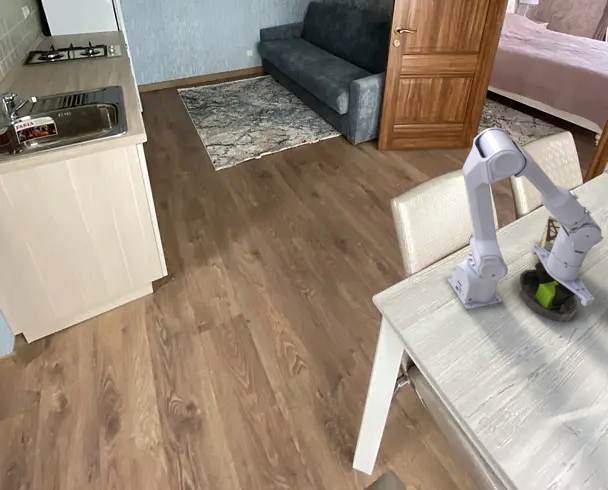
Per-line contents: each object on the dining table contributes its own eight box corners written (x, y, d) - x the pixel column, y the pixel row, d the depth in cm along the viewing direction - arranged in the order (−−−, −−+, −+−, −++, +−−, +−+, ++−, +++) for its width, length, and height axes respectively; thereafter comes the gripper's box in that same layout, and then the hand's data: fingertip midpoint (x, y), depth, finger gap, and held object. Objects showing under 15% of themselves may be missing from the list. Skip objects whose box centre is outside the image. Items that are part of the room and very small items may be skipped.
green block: (545, 309, 81) (551, 296, 80) (534, 297, 84) (539, 284, 83) (561, 306, 82) (567, 293, 81) (550, 293, 85) (555, 281, 83)
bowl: (571, 333, 77) (575, 324, 76) (512, 302, 84) (515, 293, 82) (574, 295, 85) (578, 287, 84) (520, 269, 92) (523, 261, 91)
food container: (563, 283, 88) (575, 254, 85) (535, 270, 92) (545, 242, 88) (565, 251, 97) (576, 224, 94) (539, 241, 101) (549, 214, 97)
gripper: (614, 281, 72) (592, 324, 77) (554, 229, 85) (539, 268, 90) (586, 287, 70) (566, 330, 76) (529, 233, 84) (516, 273, 89)
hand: (550, 297), depth 83 cm, fingers closed on green block, 3 cm apart
